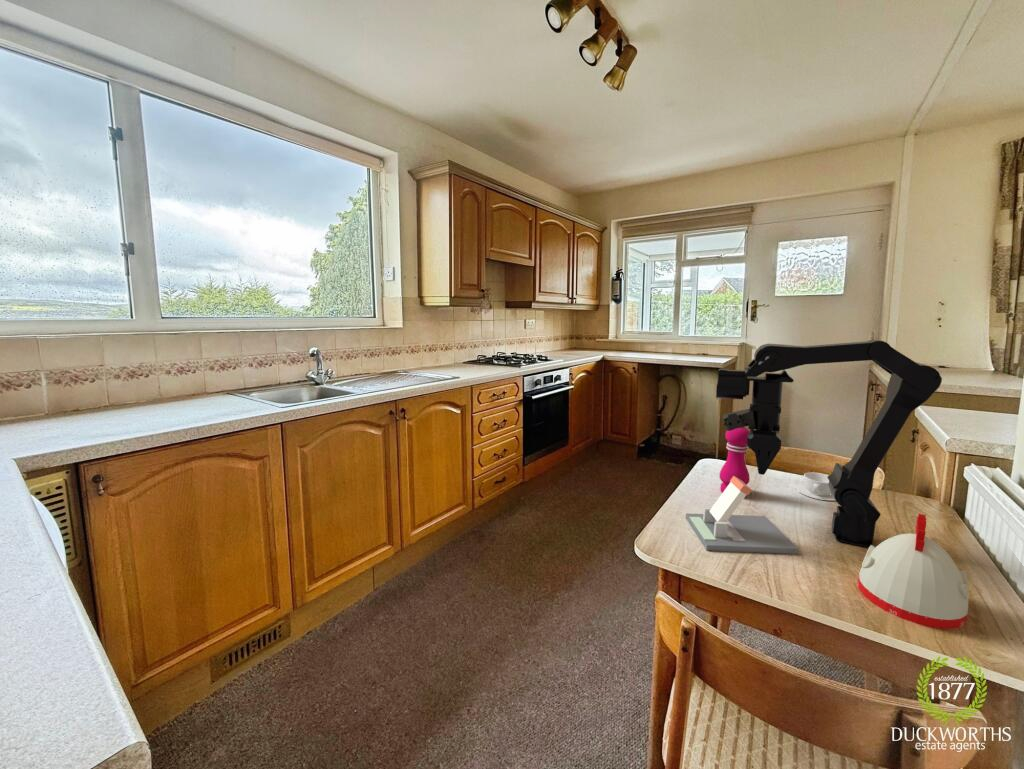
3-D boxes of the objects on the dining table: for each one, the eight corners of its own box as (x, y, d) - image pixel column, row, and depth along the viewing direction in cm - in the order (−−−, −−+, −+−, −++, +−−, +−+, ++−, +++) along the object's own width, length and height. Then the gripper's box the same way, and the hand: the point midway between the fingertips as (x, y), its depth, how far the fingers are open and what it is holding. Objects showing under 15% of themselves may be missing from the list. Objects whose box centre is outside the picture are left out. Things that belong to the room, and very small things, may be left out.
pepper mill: (745, 500, 114) (752, 425, 110) (715, 493, 118) (721, 421, 114) (750, 491, 119) (757, 419, 116) (721, 484, 124) (727, 415, 120)
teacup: (801, 483, 125) (803, 467, 124) (844, 493, 118) (847, 477, 117) (792, 494, 118) (794, 477, 117) (837, 505, 111) (840, 488, 110)
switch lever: (715, 514, 99) (741, 480, 97) (724, 526, 94) (751, 489, 92) (708, 510, 99) (733, 475, 97) (716, 521, 94) (743, 485, 92)
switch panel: (764, 520, 103) (766, 503, 102) (797, 553, 89) (800, 533, 88) (685, 518, 104) (686, 500, 104) (706, 550, 91) (708, 530, 90)
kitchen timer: (962, 597, 76) (978, 517, 73) (970, 642, 66) (989, 551, 63) (860, 566, 85) (871, 493, 82) (853, 602, 75) (866, 520, 72)
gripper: (729, 391, 110) (726, 451, 112) (722, 406, 94) (719, 475, 97) (781, 394, 104) (776, 457, 107) (783, 410, 88) (778, 484, 91)
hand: (761, 467), depth 100 cm, fingers open, 9 cm apart
